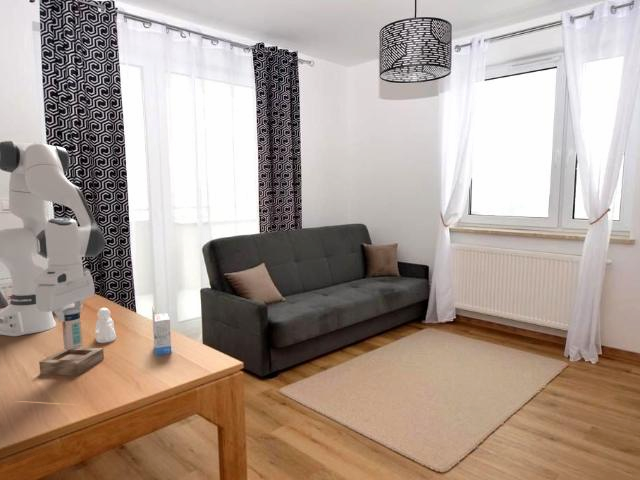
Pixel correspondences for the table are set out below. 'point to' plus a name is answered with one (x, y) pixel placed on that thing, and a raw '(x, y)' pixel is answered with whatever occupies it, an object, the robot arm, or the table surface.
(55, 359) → the brown square tray
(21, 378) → the table surface
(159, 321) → the ink box
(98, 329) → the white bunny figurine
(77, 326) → the beer can
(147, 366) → the table surface
